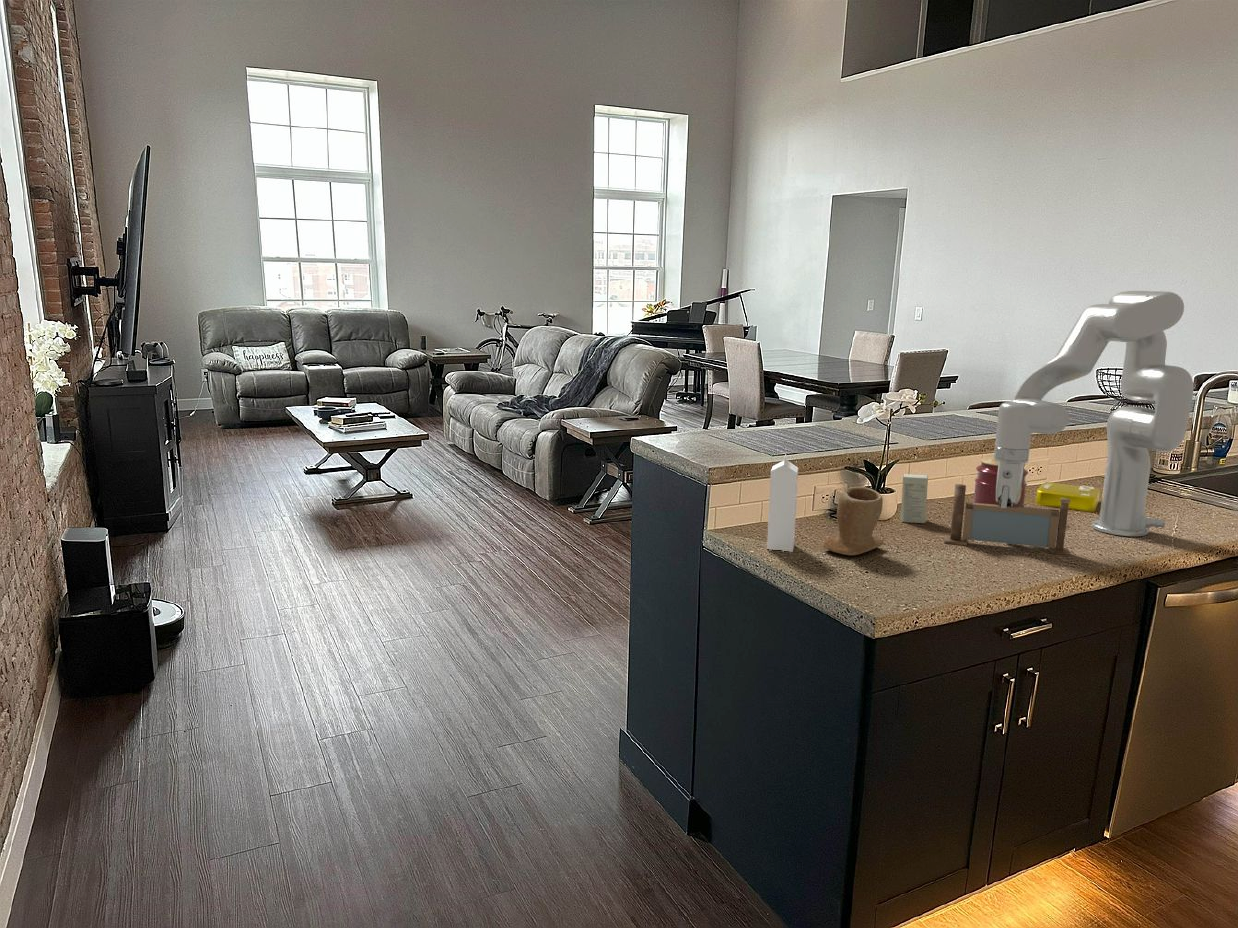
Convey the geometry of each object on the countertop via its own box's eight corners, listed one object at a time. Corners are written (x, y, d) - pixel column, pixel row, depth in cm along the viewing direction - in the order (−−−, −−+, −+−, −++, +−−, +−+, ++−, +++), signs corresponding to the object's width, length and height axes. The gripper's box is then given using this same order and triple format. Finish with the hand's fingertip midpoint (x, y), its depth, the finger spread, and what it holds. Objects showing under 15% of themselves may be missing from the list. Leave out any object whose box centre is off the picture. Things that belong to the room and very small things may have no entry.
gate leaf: (962, 539, 204) (966, 503, 202) (962, 537, 205) (966, 502, 203) (1055, 548, 197) (1059, 511, 195) (1054, 546, 199) (1058, 510, 197)
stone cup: (858, 563, 188) (863, 498, 185) (815, 550, 197) (819, 488, 194) (897, 550, 198) (902, 488, 194) (854, 539, 206) (858, 479, 203)
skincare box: (925, 519, 224) (929, 474, 221) (925, 524, 220) (929, 478, 217) (899, 517, 226) (903, 472, 223) (899, 521, 222) (903, 476, 219)
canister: (972, 515, 229) (978, 451, 225) (971, 504, 241) (977, 443, 237) (1025, 520, 224) (1032, 455, 221) (1022, 509, 236) (1029, 446, 232)
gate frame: (944, 543, 203) (949, 486, 201) (943, 537, 208) (949, 482, 205) (1070, 555, 195) (1077, 496, 192) (1066, 549, 199) (1073, 492, 196)
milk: (766, 550, 197) (770, 457, 192) (768, 542, 203) (772, 452, 198) (793, 552, 195) (797, 459, 191) (794, 544, 201) (798, 453, 197)
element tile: (1042, 495, 254) (1044, 479, 253) (1099, 502, 245) (1101, 486, 245) (1034, 505, 241) (1036, 489, 241) (1093, 513, 233) (1096, 496, 232)
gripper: (1025, 461, 193) (1017, 538, 197) (1031, 451, 206) (1023, 523, 209) (990, 458, 197) (982, 533, 200) (998, 447, 209) (990, 519, 213)
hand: (1003, 528), depth 205 cm, fingers closed
